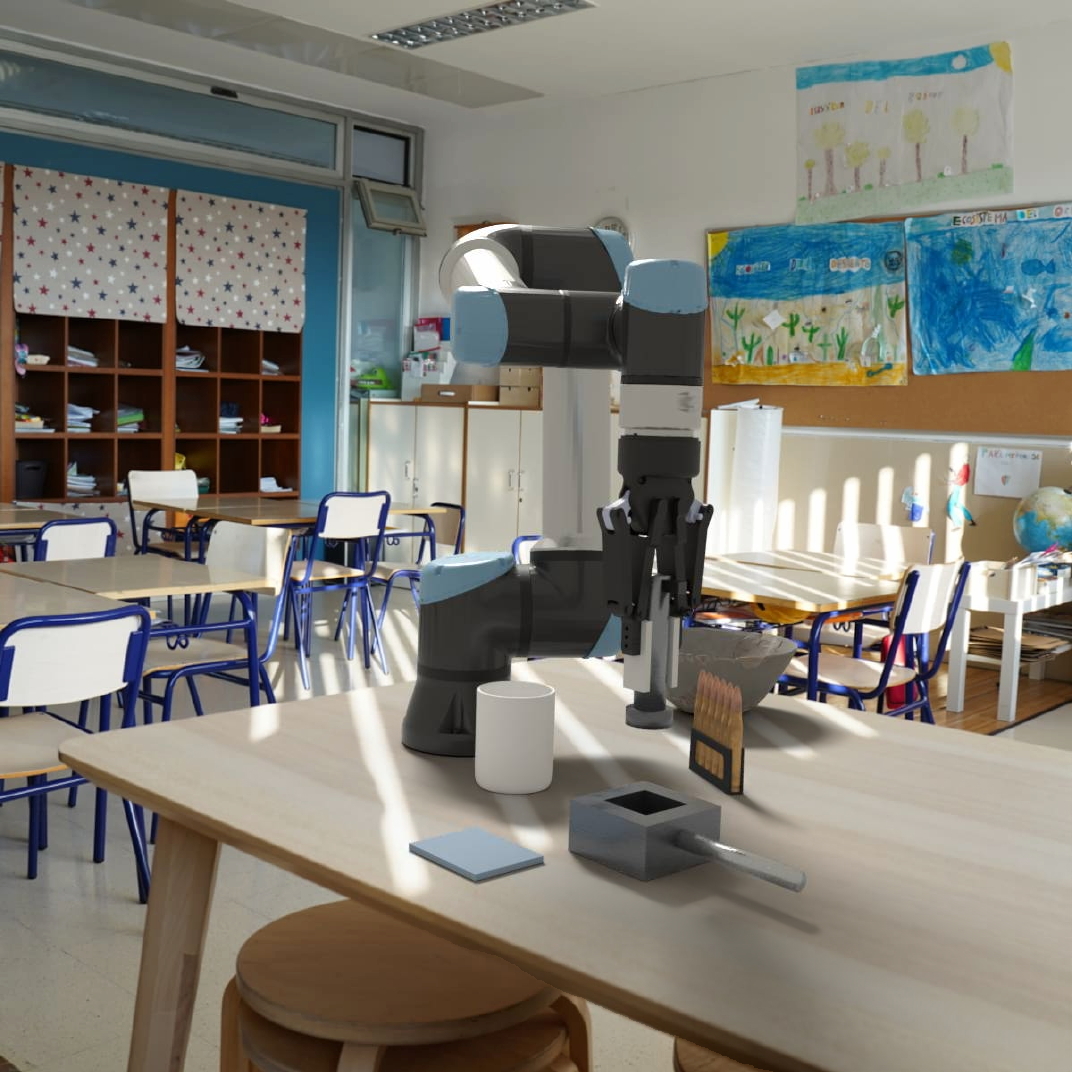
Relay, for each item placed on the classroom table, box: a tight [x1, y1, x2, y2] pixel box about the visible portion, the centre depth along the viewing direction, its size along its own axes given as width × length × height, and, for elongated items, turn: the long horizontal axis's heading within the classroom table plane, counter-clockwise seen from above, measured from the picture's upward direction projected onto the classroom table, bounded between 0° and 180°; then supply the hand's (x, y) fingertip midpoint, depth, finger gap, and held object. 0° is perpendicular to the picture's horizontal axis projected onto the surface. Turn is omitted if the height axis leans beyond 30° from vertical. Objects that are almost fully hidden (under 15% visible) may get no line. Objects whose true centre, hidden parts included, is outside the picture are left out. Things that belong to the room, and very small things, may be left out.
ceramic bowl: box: [666, 626, 798, 714], centre depth 179 cm, size 22×23×10 cm
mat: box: [408, 826, 545, 882], centre depth 119 cm, size 10×8×1 cm
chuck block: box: [567, 780, 807, 894], centre depth 115 cm, size 23×10×5 cm, turn 41°
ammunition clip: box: [688, 669, 746, 796], centre depth 145 cm, size 11×2×12 cm, turn 17°
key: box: [624, 572, 688, 731], centre depth 118 cm, size 7×4×14 cm, turn 41°
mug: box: [474, 680, 556, 795], centre depth 143 cm, size 9×12×11 cm
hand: (650, 686), depth 119 cm, fingers closed on key, 3 cm apart
